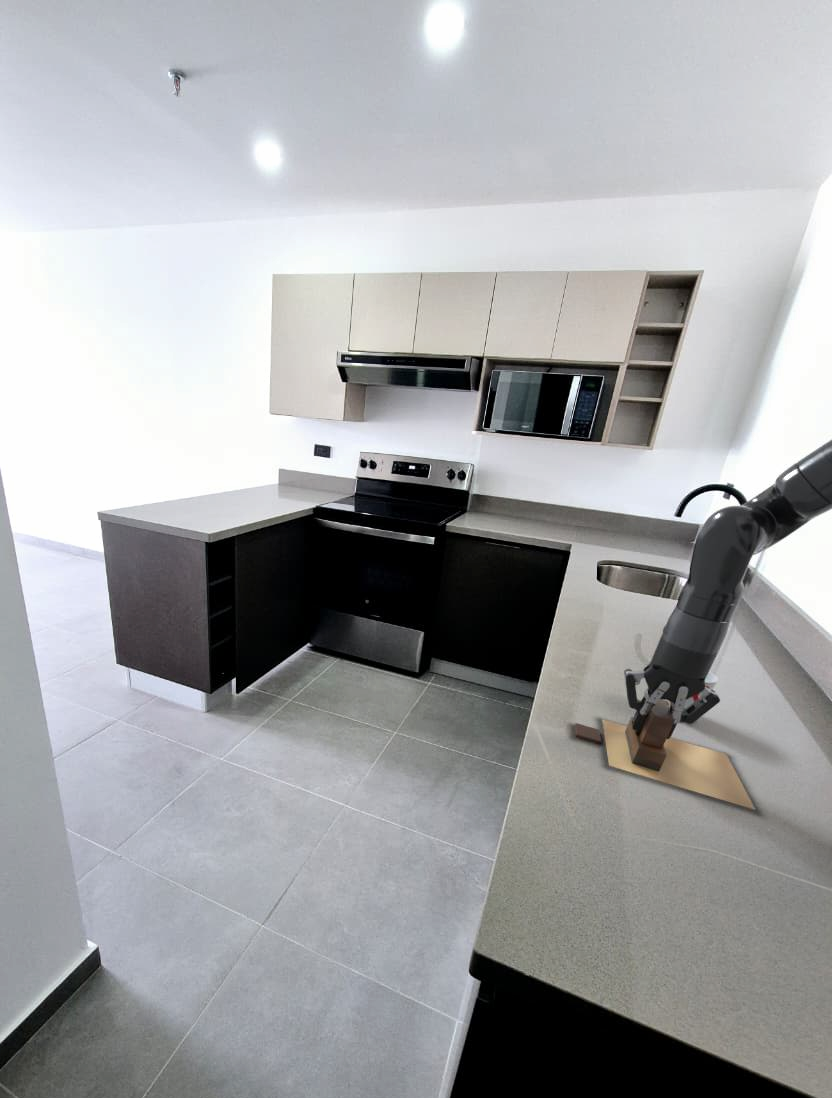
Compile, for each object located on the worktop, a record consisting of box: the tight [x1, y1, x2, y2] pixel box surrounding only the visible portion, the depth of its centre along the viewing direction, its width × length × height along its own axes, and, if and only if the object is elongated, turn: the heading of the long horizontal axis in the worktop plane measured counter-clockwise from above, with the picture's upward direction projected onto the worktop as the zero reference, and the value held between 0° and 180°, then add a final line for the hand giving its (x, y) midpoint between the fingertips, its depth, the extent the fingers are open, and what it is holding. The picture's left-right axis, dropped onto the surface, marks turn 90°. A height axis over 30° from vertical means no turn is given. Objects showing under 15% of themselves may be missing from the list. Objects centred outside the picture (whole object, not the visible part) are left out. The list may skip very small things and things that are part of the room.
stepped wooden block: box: [625, 699, 675, 771], centre depth 82 cm, size 4×10×8 cm, turn 159°
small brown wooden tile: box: [574, 722, 602, 745], centre depth 86 cm, size 4×4×2 cm
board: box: [602, 719, 756, 811], centre depth 83 cm, size 20×15×1 cm
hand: (648, 734), depth 82 cm, fingers closed on stepped wooden block, 3 cm apart
